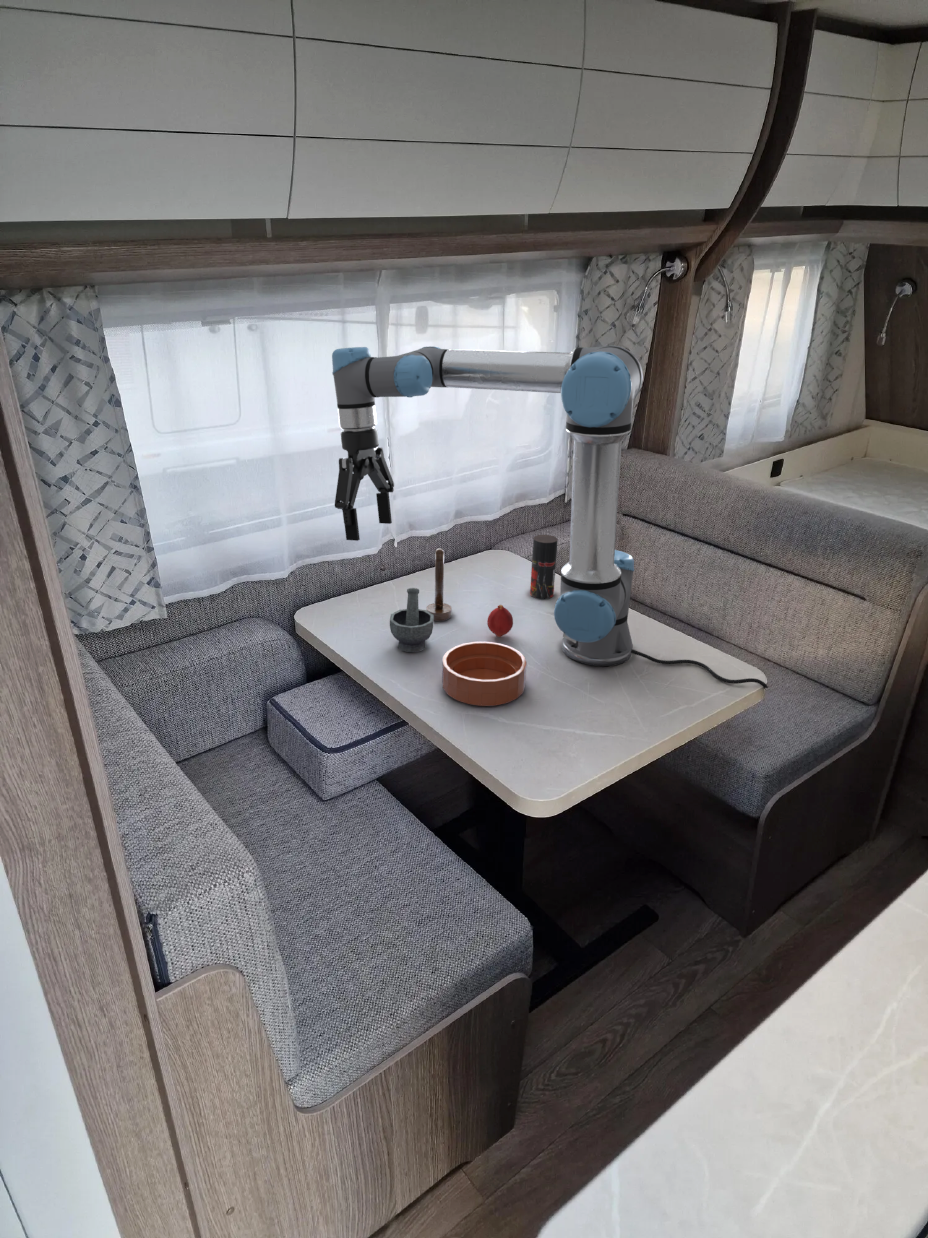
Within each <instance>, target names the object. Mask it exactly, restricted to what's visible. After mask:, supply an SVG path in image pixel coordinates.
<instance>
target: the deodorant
mask: <svg viewBox="0 0 928 1238" xmlns="http://www.w3.org/2000/svg"><path fill="white" fill-rule="evenodd" d="M558 543H559V540H558V537H556V536H555V535H550V534H537V535H535V536H533V538H532V554H531V555H532V556H531V557H532V558H531V569H530V571H531V572H530V587H529V595H530V597H532V598H533V599H537V600H549V599H552V598H553V597H554V595H555V594H554V593H555V581H556V580H555V579H556V570H557V569H556V567H557V554H558Z"/></svg>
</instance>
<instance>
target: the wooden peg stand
mask: <svg viewBox="0 0 928 1238" xmlns="http://www.w3.org/2000/svg"><path fill="white" fill-rule="evenodd" d="M444 573H445V551H444V549H443V548H440V547H439V548H437V549H435V552H434V603H430V604H428V605H427V606H426V607H425V608H426V609H425V610H426V611H428V612H429V613H431V614H433V615H434V622H442V621H443V622H445V621H448V620H450V619H451V618H452V616H453V615H452V614H453V613H452V612H453V607H452V606H451V605H450V604H448V603H445V602H444V591H445V589H444V582H445V580H444V579H445V578H444V577H445V574H444Z"/></svg>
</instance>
